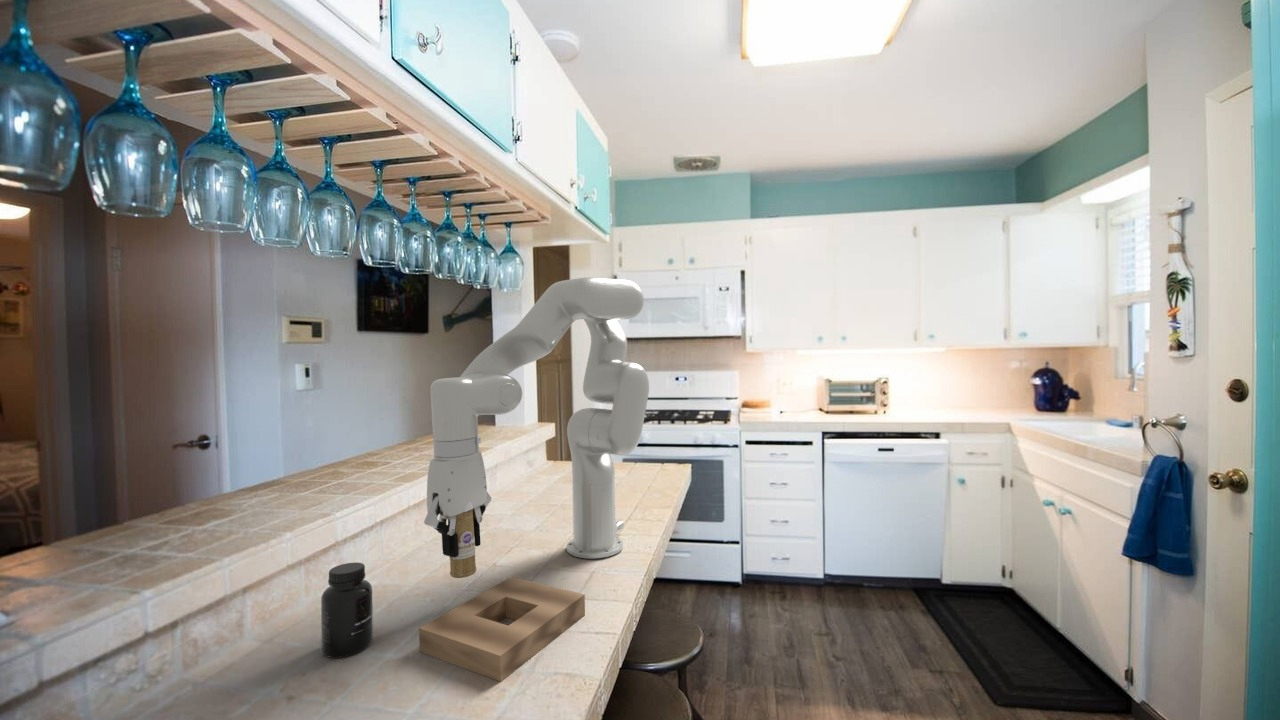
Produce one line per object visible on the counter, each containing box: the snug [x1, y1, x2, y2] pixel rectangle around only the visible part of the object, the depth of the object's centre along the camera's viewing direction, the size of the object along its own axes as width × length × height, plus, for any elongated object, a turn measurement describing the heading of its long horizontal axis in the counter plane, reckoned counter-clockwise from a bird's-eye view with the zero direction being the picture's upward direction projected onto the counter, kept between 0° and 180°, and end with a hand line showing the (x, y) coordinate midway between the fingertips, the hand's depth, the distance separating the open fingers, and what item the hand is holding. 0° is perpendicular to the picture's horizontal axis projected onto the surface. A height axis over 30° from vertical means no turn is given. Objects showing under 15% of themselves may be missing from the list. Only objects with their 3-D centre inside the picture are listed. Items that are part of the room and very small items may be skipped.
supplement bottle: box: [320, 562, 374, 659], centre depth 80 cm, size 7×7×12 cm
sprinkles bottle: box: [448, 502, 477, 579], centre depth 93 cm, size 5×5×14 cm
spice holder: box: [418, 576, 586, 682], centre depth 83 cm, size 20×16×4 cm
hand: (462, 549), depth 93 cm, fingers closed on sprinkles bottle, 4 cm apart
